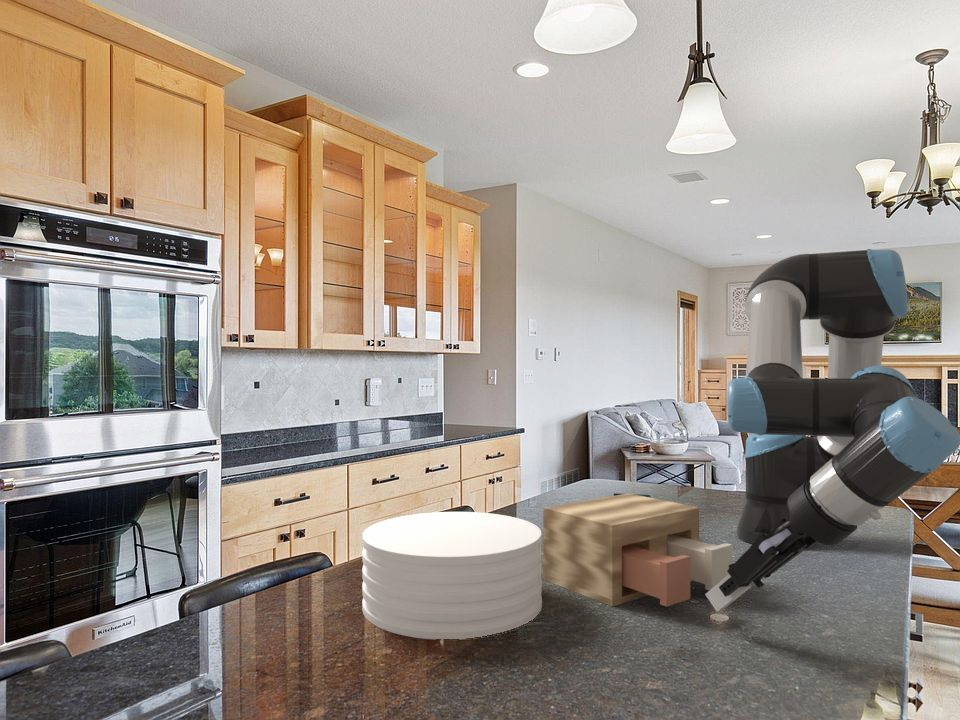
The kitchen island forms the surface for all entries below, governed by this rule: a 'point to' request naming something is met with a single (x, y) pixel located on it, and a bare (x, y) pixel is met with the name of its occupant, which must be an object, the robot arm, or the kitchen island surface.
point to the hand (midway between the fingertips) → (714, 601)
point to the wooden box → (608, 541)
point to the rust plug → (656, 574)
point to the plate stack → (451, 574)
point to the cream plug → (702, 559)
